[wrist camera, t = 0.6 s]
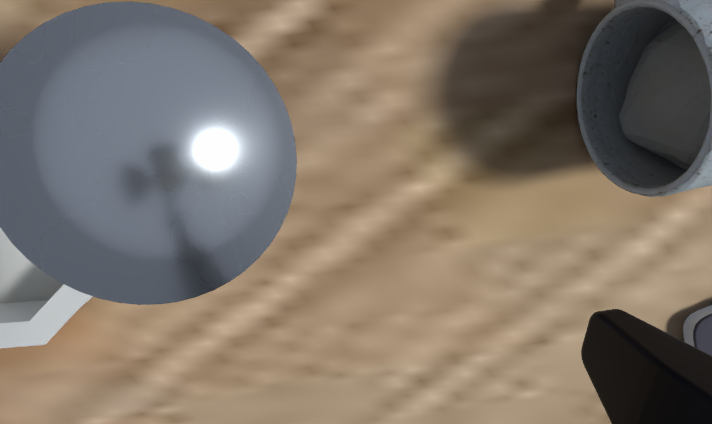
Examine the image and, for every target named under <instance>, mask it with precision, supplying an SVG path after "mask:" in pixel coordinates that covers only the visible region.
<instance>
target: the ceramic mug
mask: <svg viewBox="0 0 712 424" xmlns="http://www.w3.org/2000/svg"><path fill="white" fill-rule="evenodd" d="M577 112H578V121H579V125H580V130H581V134H582V138H583V140H584V142H585V145H586V147H587V150H588V152H589V154H590V156H591V158H592V160H593V161H594V163H595V164H596V166H597V167H598V168H599V170H600V171H601V172H602V173H603V174H604V175H605V176H606V177H607V178H608V179H609V180H610V181H612V182H613V183H614V184H616V185H617V186H619V187H620V188H622V189H624V190H626V191H629V192H631V193H635V194H639V195H643V196H650V197H656V196H666V195H670V194H675V193H678V192H683V191H687V190H692V189H695V188H699V187H705V186H710V185H712V0H615V8H614V9H613V10H612V11H611V12H610V13H609V14H607V15H606V16H605V17H604V19H603V20H602V21H601V22H600V23H599V24H598V26H597V27H596V29H595V30H594V32H593V33H592V35H591V36H590V39H589V41H588V43H587V46H586V48H585V51H584V53H583V56H582V59H581V64H580V69H579V73H578V81H577Z"/></svg>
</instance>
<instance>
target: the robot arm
mask: <svg viewBox="0 0 712 424" xmlns="http://www.w3.org/2000/svg"><path fill="white" fill-rule="evenodd" d="M581 355H582V360H583V364H584V366H585V368H586V370H587V373H588V375H589V377H590V379H591V381H592V383H593V385H594V387H595V389H596V392H597V394H598V396H599V398H600V400H601V402H602V404H603V406H604V408H605V410H606V413H607V415H608V417H609V419H610V421H611V423H612V424H712V356H711V355H709V354H707V353H705V352H703V351H701V350H699V349H697V348H695V347H693V346H691V345H689V344H687V343H685V342H683V341H682V340H680V339H678V338H676V337H674V336H672V335H670V334H668V333H666V332H664V331H662V330H660V329H658V328H656V327H654V326H652V325H650V324H648V323H646V322H644V321H642V320H640V319H638V318H636V317H634V316H632V315H630V314H628V313H626V312H624V311H622V310H619V309H612V310H605V311H598V312H595V313H594V314H593V315H592V316H591V317H590V320H589V324H588V327H587V331H586V334H585V338H584V342H583V345H582V352H581Z"/></svg>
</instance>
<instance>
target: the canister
mask: <svg viewBox="0 0 712 424" xmlns="http://www.w3.org/2000/svg"><path fill="white" fill-rule="evenodd" d="M296 163H297V157H296V147H295V138H294V134H293V130H292V125H291V121H290V118H289V115H288V113H287V110H286V107H285V105H284V102H283V100H282V98H281V96H280V94H279V93H278V91H277V89H276V87H275V85H274V83H273V82H272V80H271V79H270V78H269V76H268V75H267V73H266V72H265V70H264V69H263V68H262V66H261V65H260V64H259V63H258V62H257V61H256V60H255V59H254V58H253V56H252V55H251V54H250V53H249V52H248V51H247V50H246V49H244V48H243V47H242V46H241V45H240V44H239V43H238V42H236V41H235V40H234V39H233V38H232V37H230V36H229V35H227V34H226V33H224V32H223V31H221V30H220V29H218V28H217V27H215V26H213V25H212V24H210V23H208V22H206V21H204V20H202V19H200V18H198V17H196V16H193V15H191V14H188V13H185V12H182V11H179V10H176V9H174V8H169V7H165V6H160V5H156V4H150V3H139V2H109V3H102V4H96V5H91V6H85V7H82V8H79V9H76V10H73V11H70V12H67V13H63V14H61V15H59V16H57V17H55V18H53V19H51V20H49V21H47V22H45V23H43V24H42V25H40V26H39V27H38V28H36V29H35V30H33V31H32V32H30V33H29V34H27V35H26V36H25V37H24V38H23V39H22V40H21V41H20V42H19V43H17V44H16V45H15V46H14V47H13V48H12V49H11V50H10V51H9V53H8V54H7V55H6V56H5V58H4V59H3V60H2V61H1V63H0V228H1V229H2V231H3V232H4V233H5V235H6V236H7V237H8V239H9V240H10V241H11V243H12V244H13V245H14V246H15V247H16V248H17V249H18V250H19V251H20V252H21V253H22V254H23V255H24V256H25V257H26V258H27V259H28V260H29V261H30V262H32V263H33V264H34V265H35V266H37V267H38V268H39V269H40V270H42V271H43V272H44V273H46V274H48V275H49V276H51V277H52V278H54V279H56V280H57V281H59V282H60V283H62V284H64V285H66V286H69V287H71V288H73V289H75V290H77V291H79V292H82V293H85V294H88V295H91V296H94V297H96V298H100V299H104V300H109V301H114V302H118V303H128V304H138V305H141V304H164V303H171V302H178V301H182V300H186V299H190V298H194V297H197V296H200V295H202V294H205V293H207V292H210V291H213V290H215V289H217V288H218V287H220V286H222V285H224V284H226V283H228V282H230V281H231V280H232V279H234V278H235V277H237V276H238V275H240V274H241V273H242V272H244V271H245V270H246V269H247V268H248V267H249V266H251V265H252V264H253V263H254V262H255V261H256V260H257V259H258V258H259V257H260V256H261V255H262V253H263V252H264V251H265V250H266V249H267V247H268V246H269V245H270V244H271V242H272V241H273V239H274V237H275V236H276V234H277V233H278V231H279V230H280V228H281V225H282V223H283V221H284V219H285V217H286V215H287V212H288V209H289V206H290V203H291V200H292V197H293V192H294V186H295V180H296Z"/></svg>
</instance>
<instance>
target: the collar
mask: <svg viewBox="0 0 712 424" xmlns="http://www.w3.org/2000/svg"><path fill="white" fill-rule="evenodd" d="M92 297H93V296H91V295H88V294H85V293H82V292H79V291H77V290H75V289H73V288H71V287H69V286H66V285H64V284H62V283H60V282H59V281H57V280H56V279H54V278H52V277H51V276H49V275H48V274H46V273H44V272H43V271H42V270H40V269H39V268H38V267H37V266H35V265H34V264H33V263H32V262H30V261H29V260H28V259H27V258H26V257H25V256H24V255H23V254H22V253H21V252H20V251H19V250H18V249H17V248H16V247H15V246H14V245H13V244H12V243H11V241H10V240H9V239H8V237H7V236H6V235H5V233H4V232H3V231H2V229H1V228H0V348H10V347H22V346H34V345H46V344H47V342H48V341H49V340H50V339H51V338H52V337H53V336H54V335H55V333H56V332H57V331H58V330H59V329H60V328H61V327H62V326H63V325H64V324H65V323H66V322H67V321H68V320H69V319H70V318H71V317H72V316H73V314H74V313H75V312H76V311H77V310H78V309H79V308H80V307H81V306H82V305H84V304H85V303H86V302H87V301H88V300H89V299H90V298H92Z"/></svg>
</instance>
